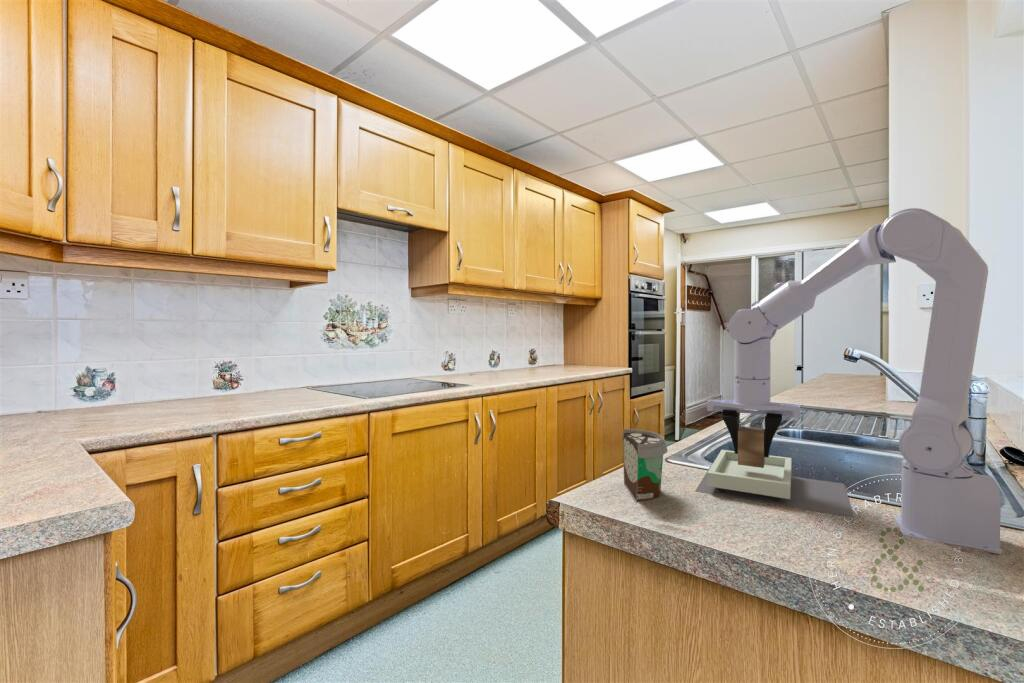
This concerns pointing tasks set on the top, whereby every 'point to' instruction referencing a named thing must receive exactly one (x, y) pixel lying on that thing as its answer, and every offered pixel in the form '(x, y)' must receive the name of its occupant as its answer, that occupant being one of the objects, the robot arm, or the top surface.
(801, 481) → the mat
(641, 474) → the food container
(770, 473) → the pale green tray
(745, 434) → the walnut block
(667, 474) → the top surface
